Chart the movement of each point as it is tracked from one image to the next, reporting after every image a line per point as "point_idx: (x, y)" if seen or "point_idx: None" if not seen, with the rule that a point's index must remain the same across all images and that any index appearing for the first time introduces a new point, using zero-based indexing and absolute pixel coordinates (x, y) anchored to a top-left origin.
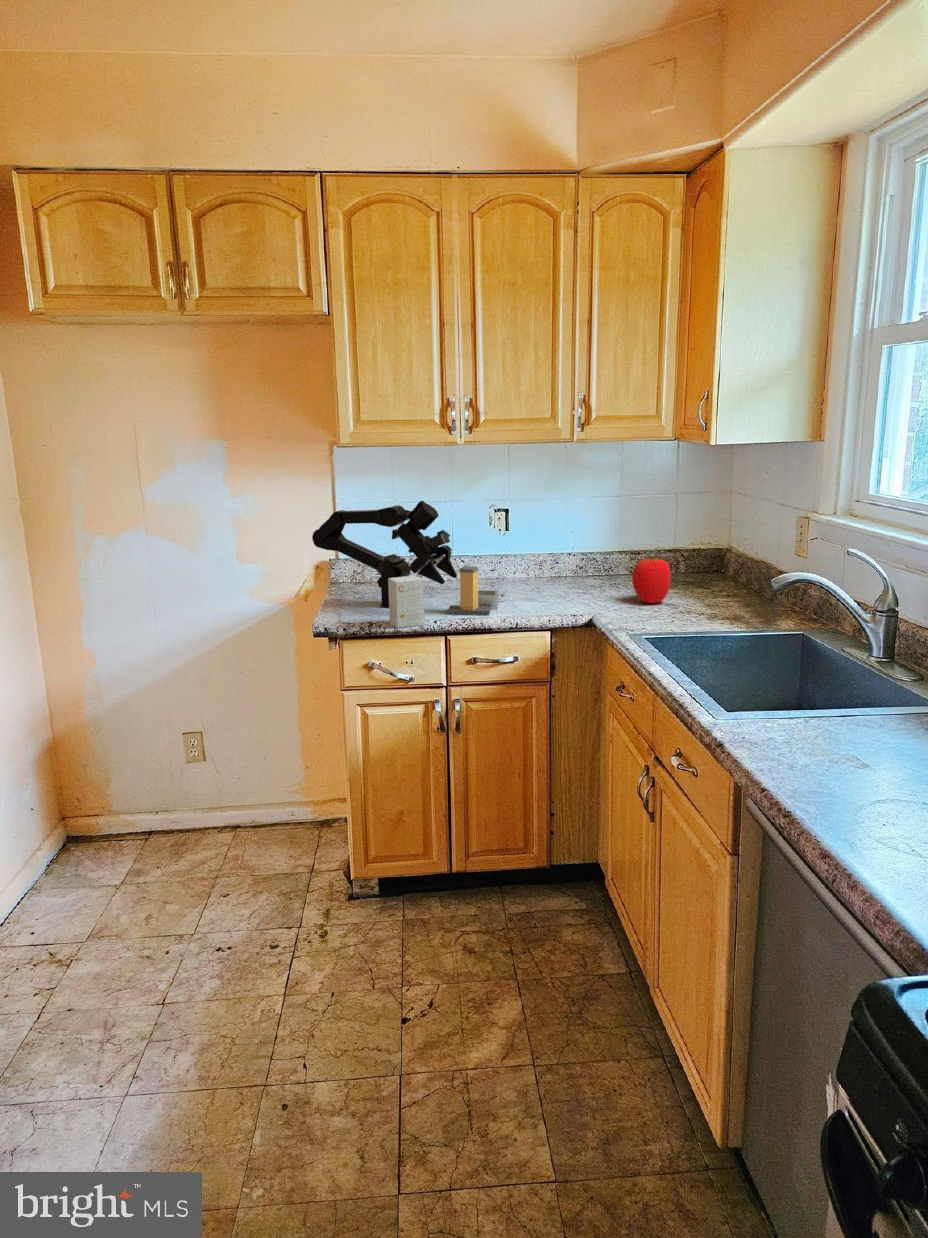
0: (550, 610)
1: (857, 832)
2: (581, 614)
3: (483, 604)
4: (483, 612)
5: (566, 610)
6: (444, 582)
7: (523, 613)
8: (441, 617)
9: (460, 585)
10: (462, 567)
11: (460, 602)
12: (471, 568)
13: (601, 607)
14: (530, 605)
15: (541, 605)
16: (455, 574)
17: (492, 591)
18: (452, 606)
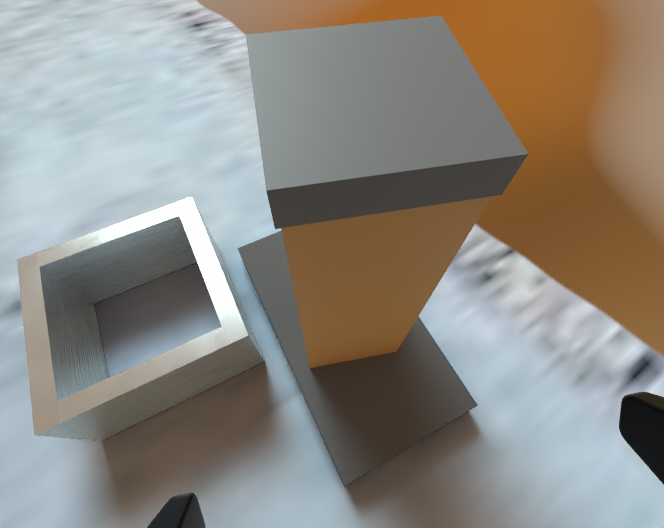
0: (152, 86)
1: None
2: (175, 17)
3: (232, 288)
4: None
5: (134, 55)
6: (632, 395)
7: (239, 132)
8: (545, 401)
9: (437, 281)
10: (408, 166)
11: (403, 337)
12: (390, 51)
13: (60, 7)
14: (84, 163)
15: (73, 133)
16: (185, 518)
17: (43, 287)
18: (365, 445)
